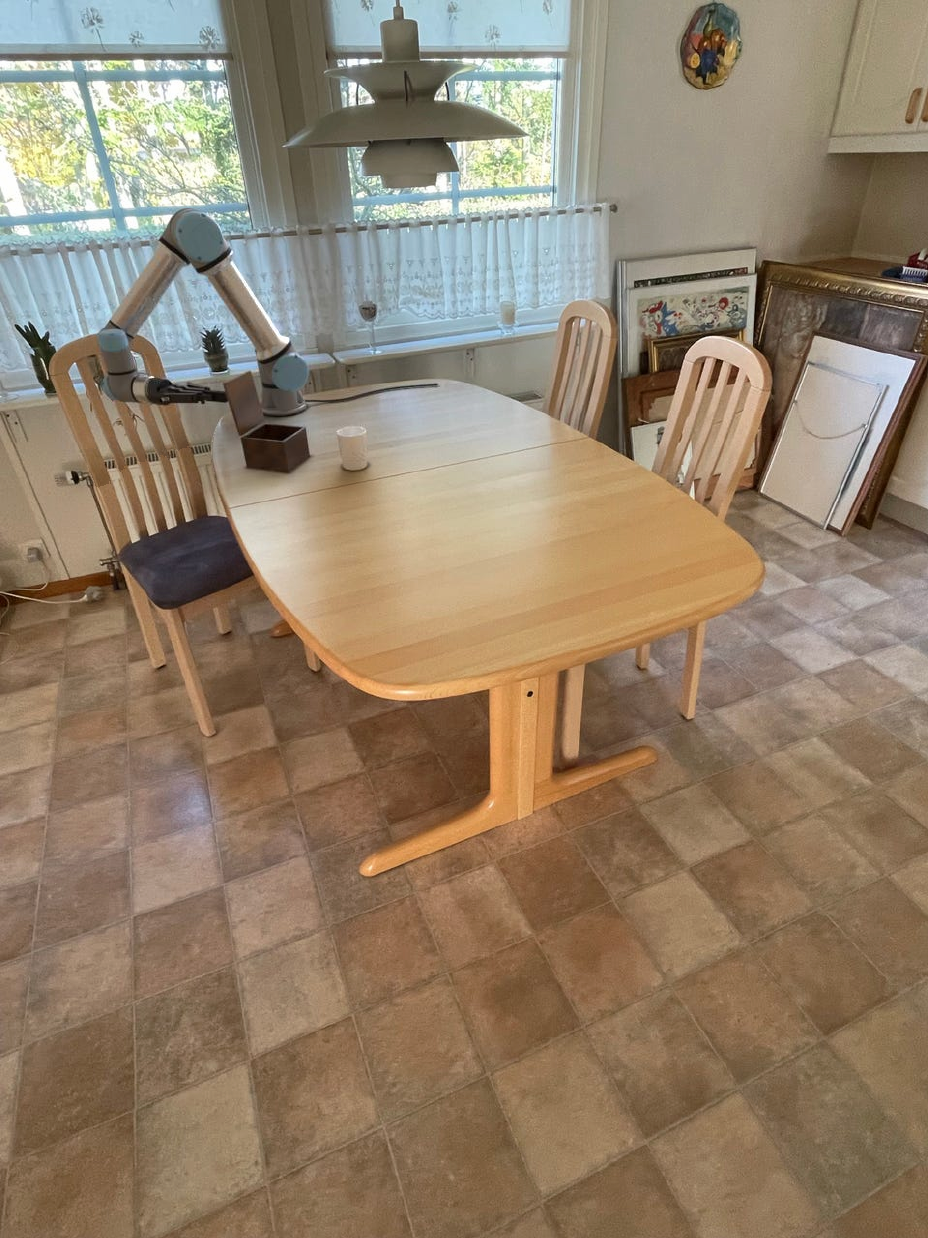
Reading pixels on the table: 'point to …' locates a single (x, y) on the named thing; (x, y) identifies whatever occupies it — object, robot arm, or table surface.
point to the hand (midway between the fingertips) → (226, 396)
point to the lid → (244, 402)
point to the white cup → (353, 447)
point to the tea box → (275, 447)
